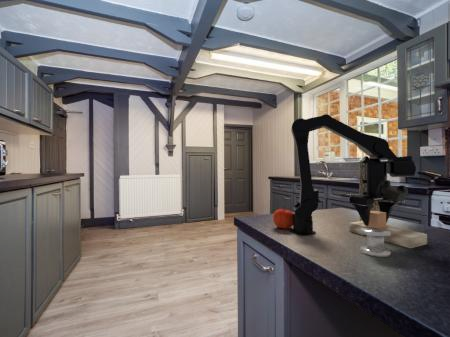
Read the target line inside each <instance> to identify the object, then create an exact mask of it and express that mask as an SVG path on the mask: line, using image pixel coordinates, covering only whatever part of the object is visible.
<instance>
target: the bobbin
mask: <svg viewBox="0 0 450 337" xmlns="http://www.w3.org/2000/svg"><path fill="white" fill-rule="evenodd" d="M361 233H362V234H365V236H366V245H361V246H360V252H361V253H362V254H364V255H367V256H371V257H375V258H389V257H391V256H392V251H391V250H390V249H389V248H386V247H385V241H384V237H390V236H391V232H390V231H389V230H386V229H381V228H374V227H364V228H361Z"/></svg>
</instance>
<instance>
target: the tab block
mask: <svg viewBox="0 0 450 337" xmlns="http://www.w3.org/2000/svg"><path fill="white" fill-rule="evenodd" d="M386 225H387V223H386V213H385V212H380V210H379V211H370V218H369V225H368V226H366V227H374V228H381V229H386Z"/></svg>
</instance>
